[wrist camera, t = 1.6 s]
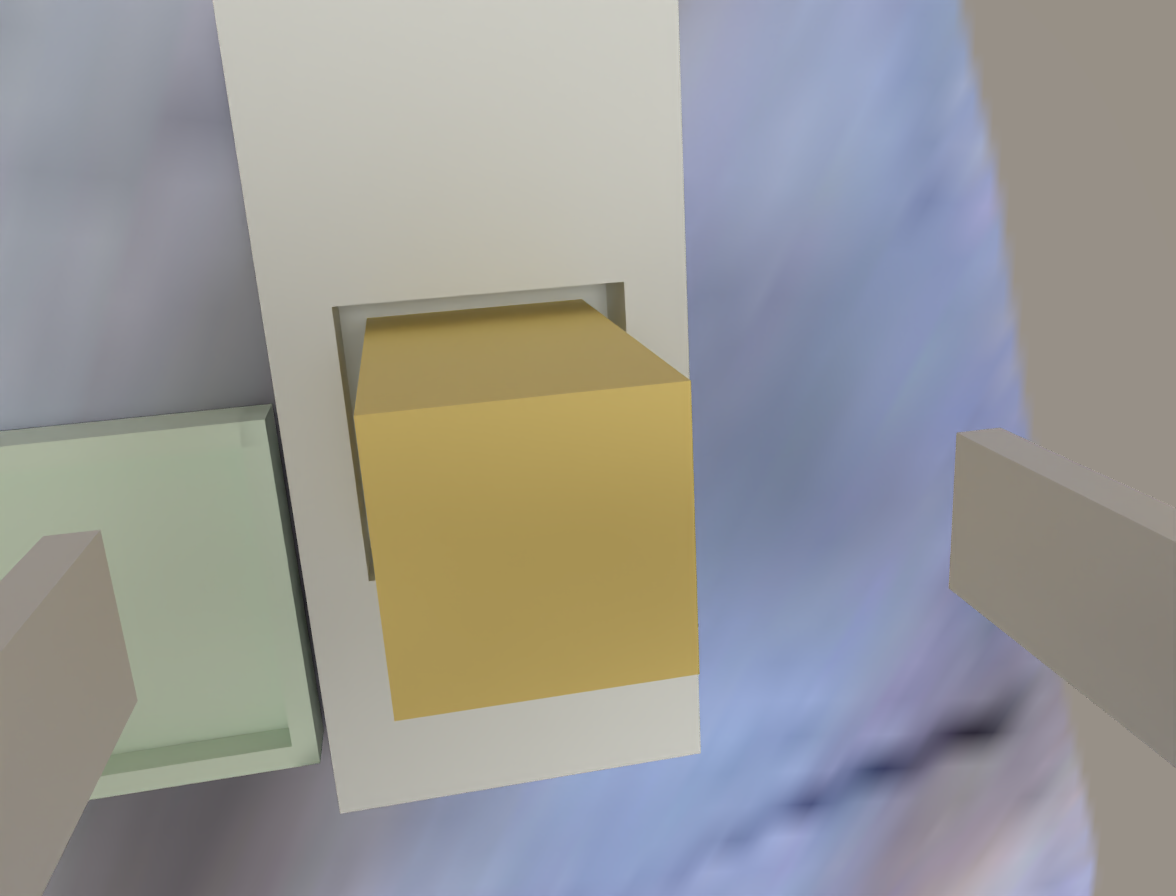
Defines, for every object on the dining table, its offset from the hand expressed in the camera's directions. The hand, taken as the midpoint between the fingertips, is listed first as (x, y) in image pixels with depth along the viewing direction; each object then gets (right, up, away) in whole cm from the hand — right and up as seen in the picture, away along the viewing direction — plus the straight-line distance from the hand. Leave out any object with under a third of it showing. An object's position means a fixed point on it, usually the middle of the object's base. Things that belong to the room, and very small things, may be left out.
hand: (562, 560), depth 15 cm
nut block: (-2, +3, +9) cm, 9 cm away
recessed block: (-2, +3, +9) cm, 10 cm away
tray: (-11, -2, +9) cm, 15 cm away
